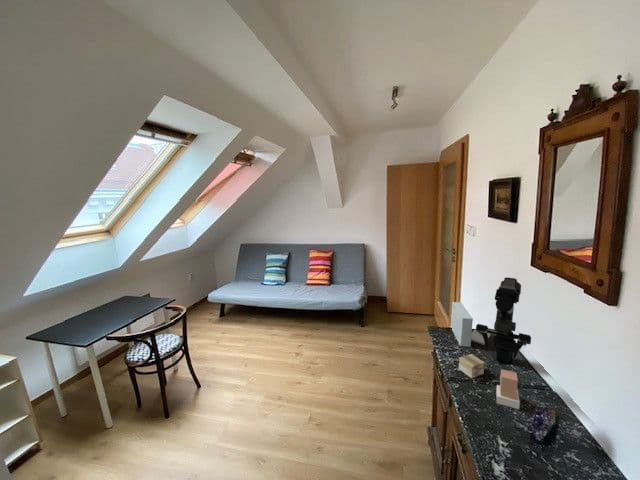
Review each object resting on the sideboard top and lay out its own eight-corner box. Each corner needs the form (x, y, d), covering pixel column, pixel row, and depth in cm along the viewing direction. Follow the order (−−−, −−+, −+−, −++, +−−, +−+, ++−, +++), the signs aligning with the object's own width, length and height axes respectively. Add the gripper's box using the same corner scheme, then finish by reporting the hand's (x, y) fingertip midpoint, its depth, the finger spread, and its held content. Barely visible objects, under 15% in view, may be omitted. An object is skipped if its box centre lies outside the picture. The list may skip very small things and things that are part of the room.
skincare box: (471, 347, 144) (473, 318, 141) (460, 346, 145) (461, 318, 142) (460, 327, 164) (461, 301, 161) (450, 326, 165) (451, 301, 162)
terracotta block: (499, 387, 111) (501, 369, 110) (515, 391, 109) (516, 372, 107) (500, 395, 107) (501, 376, 105) (516, 399, 104) (517, 380, 103)
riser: (496, 391, 113) (496, 384, 112) (517, 397, 109) (517, 390, 109) (496, 403, 107) (497, 396, 107) (519, 409, 104) (519, 402, 103)
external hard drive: (466, 340, 151) (474, 331, 159) (483, 346, 145) (490, 336, 153) (466, 337, 150) (474, 328, 159) (483, 343, 145) (490, 333, 153)
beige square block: (470, 359, 130) (471, 353, 129) (484, 368, 123) (484, 362, 123) (458, 363, 127) (459, 357, 127) (471, 372, 121) (472, 366, 120)
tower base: (470, 365, 130) (470, 359, 130) (483, 374, 124) (483, 368, 123) (458, 369, 128) (458, 363, 127) (471, 378, 121) (471, 372, 121)
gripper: (476, 307, 116) (471, 345, 112) (532, 318, 105) (529, 361, 100) (479, 313, 125) (474, 349, 120) (532, 324, 113) (528, 363, 109)
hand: (500, 355), depth 112 cm, fingers open, 9 cm apart
